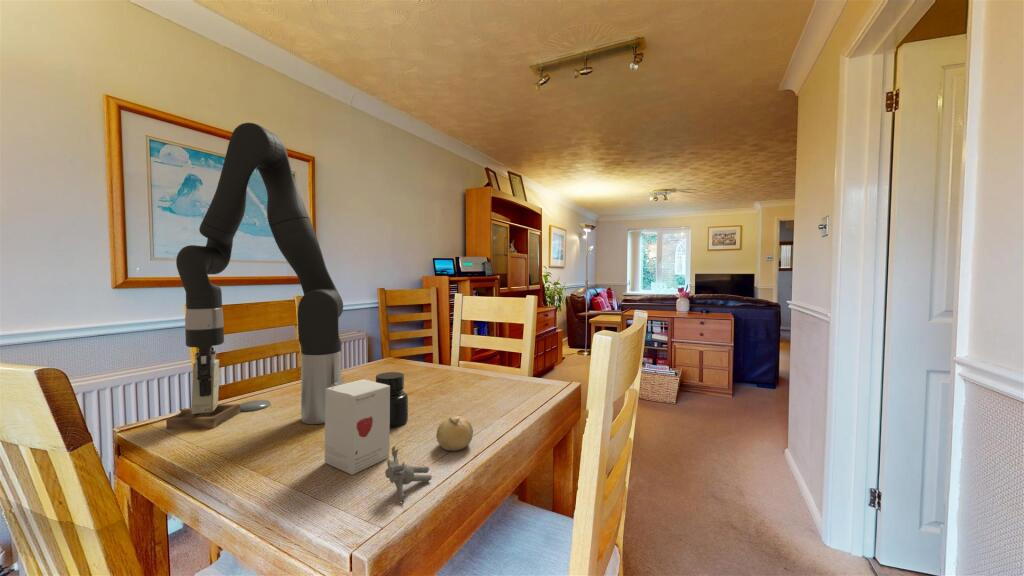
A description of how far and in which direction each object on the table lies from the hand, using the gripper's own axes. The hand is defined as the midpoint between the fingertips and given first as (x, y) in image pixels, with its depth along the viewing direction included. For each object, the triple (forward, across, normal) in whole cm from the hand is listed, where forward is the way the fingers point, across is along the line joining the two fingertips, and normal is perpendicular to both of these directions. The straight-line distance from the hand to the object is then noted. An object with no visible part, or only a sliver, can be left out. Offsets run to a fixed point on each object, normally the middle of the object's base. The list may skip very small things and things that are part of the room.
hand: (206, 392), depth 97 cm
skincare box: (+5, 0, 0) cm, 5 cm away
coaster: (+7, +6, -10) cm, 13 cm away
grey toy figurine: (+8, -58, -30) cm, 65 cm away
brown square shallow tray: (+7, 0, 0) cm, 7 cm away
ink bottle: (+8, -26, -38) cm, 47 cm away
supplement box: (+8, -43, -26) cm, 50 cm away
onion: (+8, -48, -45) cm, 66 cm away
